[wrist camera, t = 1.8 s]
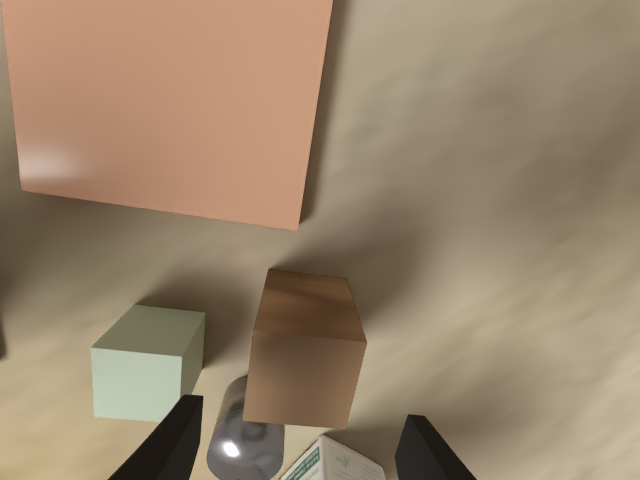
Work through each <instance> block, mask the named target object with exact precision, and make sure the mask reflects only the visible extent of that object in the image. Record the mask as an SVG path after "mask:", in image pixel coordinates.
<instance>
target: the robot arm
mask: <svg viewBox="0 0 640 480" xmlns="http://www.w3.org/2000/svg"><path fill="white" fill-rule="evenodd" d="M202 408H203V396H199V395H188V394H185V395H183V396H182V397H181V398H180V399H179V400H178V402H177V403H176V404H175V406H174V407H173V408H172V409H171V411H170V412H169V413H168V414H167V416H166V417H165V418H164V419H163V420H162V422H161V423H160V424H159V425H158V426H157V427H156V429H155V430H154V431H153V432H152V433H151V434H150V435H149V436H148V438H147V439H146V440H145V441H144V442H143V443H142V444H141V445H140V446H139V448H138V449H137V450H136V451H135V452H134V453H133V454H132V455H131V456H130V457H129V458H128V459H127V460H126V461H125V462H124V463H123V464H122V465H121V466H120V467H119V468H118V469H117V471H116V472H115V473H114V474H113V475H112V476H111V477H110V478H109V479H108V480H189V478H190V475H191V472H192V468H193V465H194V462H195V458H196V455H197V451H198V447H199V444H200V435H201V422H202ZM395 461H396V467H397V473H398V478H399V480H477V479H476V478H475V477H474V476H473V475H472V473H471V472H470V471H469V470H468V469H467V468H466V466H465V465H464V464H463V463H462V462H461V460H460V459H459V458H458V457H457V455H456V454H455V453H454V452H453V451H452V449H451V448H450V447H449V446H448V444H447V443H446V442H445V441H444V439H443V438H442V437H441V436H440V434H439V433H438V432H437V431H436V429H435V428H434V427H433V426H432V424H431V423H430V422H429V421H428V420H427V418H426V417H425V416H420V415H409V414H408V417H407V420H406V423H405V426H404V429H403V432H402V436H401V439H400V442H399V445H398V448H397V451H396V454H395Z"/></svg>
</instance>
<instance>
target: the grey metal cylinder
mask: <svg viewBox="0 0 640 480" xmlns="http://www.w3.org/2000/svg"><path fill="white" fill-rule="evenodd" d="M247 379H248V375H247V376H243V377H241V378H238V379H237V380H235V381H234V382H232V383H231V384H230V385H229V387H228V388H227V390H226V392H225V395H224V398H223V402H222V405H221V408H220V412H219V415H218V418H217V422H216V425H215V429H214V432H213V435H212V439H211V442H210V445H209V449H208V452H207V464H208V467H209V469H210V470H211V472H212V473H213V474H214V475H215V476H216V477H217V478H219V479H220V480H270V479H271V478H273V477H274V476H275V475H276V474H277V473H278V472H279V470H280V468H281V466H282V463H283V454H284V436H285V424H276V423H263V422H251V421H242V420H243V412H244V404H245V395H246V387H247Z"/></svg>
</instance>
